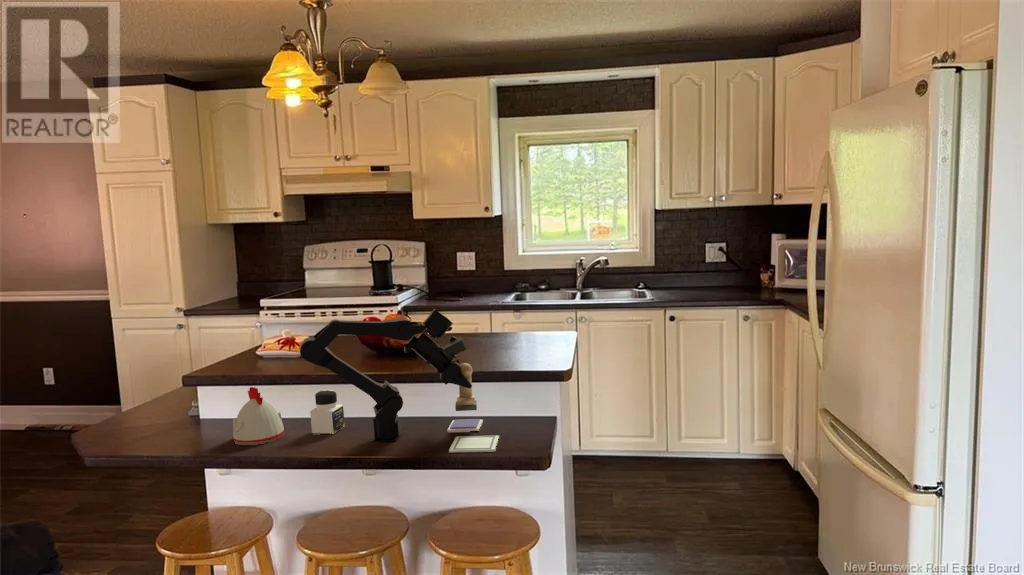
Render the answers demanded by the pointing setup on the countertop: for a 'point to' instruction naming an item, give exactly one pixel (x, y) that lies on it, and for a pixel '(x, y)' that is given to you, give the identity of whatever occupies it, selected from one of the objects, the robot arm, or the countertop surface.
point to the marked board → (474, 444)
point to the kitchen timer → (257, 420)
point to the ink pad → (465, 425)
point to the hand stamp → (466, 392)
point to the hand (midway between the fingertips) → (470, 385)
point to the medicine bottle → (327, 413)
